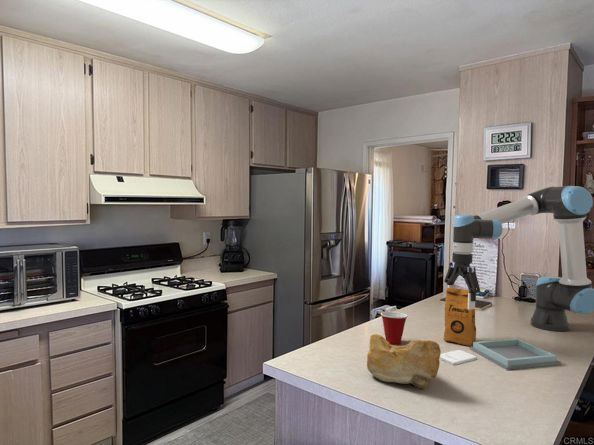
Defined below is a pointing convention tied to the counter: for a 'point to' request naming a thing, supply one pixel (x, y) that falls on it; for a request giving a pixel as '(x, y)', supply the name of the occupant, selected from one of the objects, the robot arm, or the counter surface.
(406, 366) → the rough brown rock
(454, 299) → the coffee package
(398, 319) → the plastic cup
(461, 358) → the external hard drive
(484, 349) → the base
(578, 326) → the counter surface
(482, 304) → the hardcover book
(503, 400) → the counter surface
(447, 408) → the counter surface
